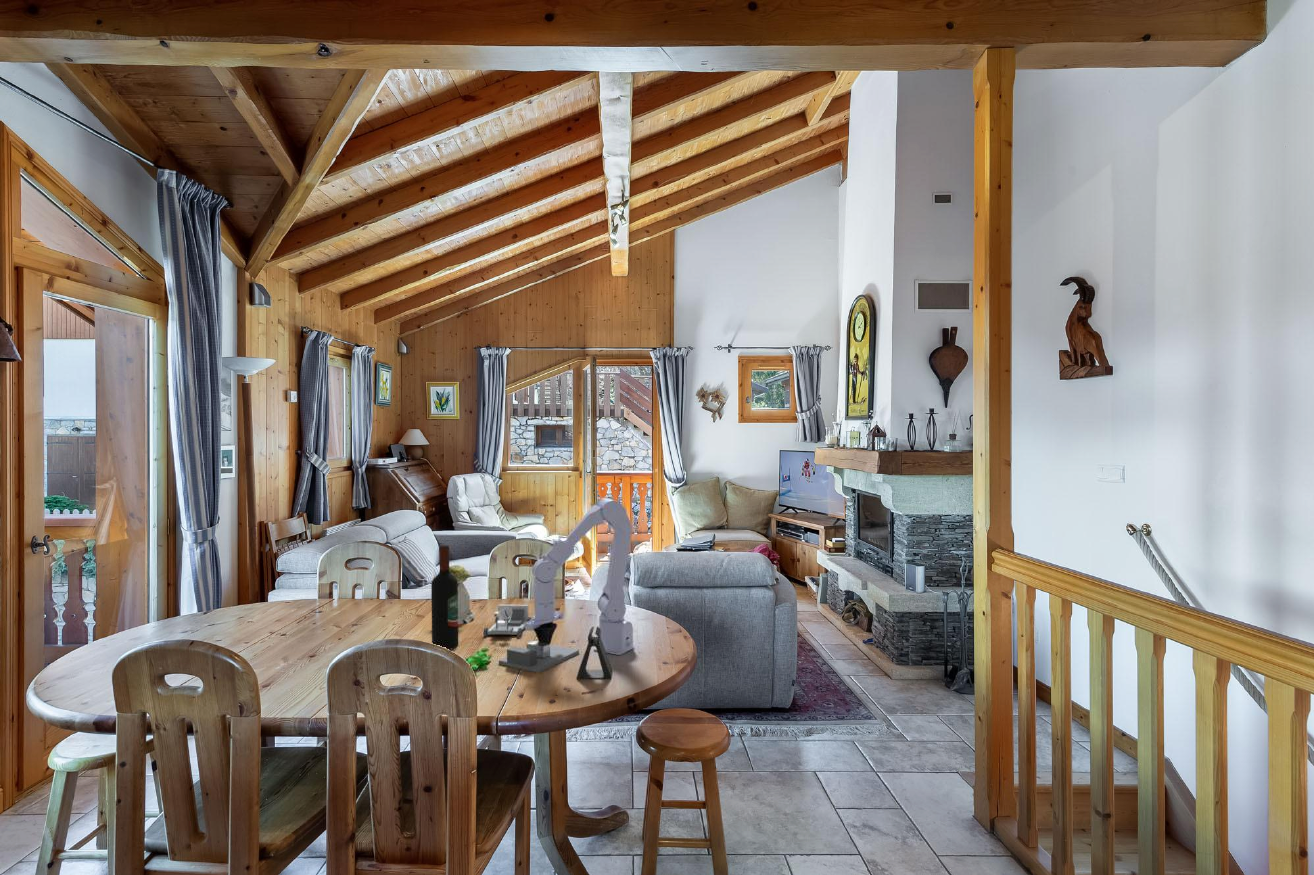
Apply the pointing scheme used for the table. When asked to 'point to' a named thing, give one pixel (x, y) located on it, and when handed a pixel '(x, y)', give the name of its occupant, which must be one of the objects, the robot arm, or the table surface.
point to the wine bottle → (444, 604)
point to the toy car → (509, 620)
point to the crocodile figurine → (479, 659)
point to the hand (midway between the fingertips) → (544, 649)
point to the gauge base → (547, 660)
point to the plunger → (539, 648)
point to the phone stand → (603, 658)
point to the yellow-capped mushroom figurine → (462, 594)
